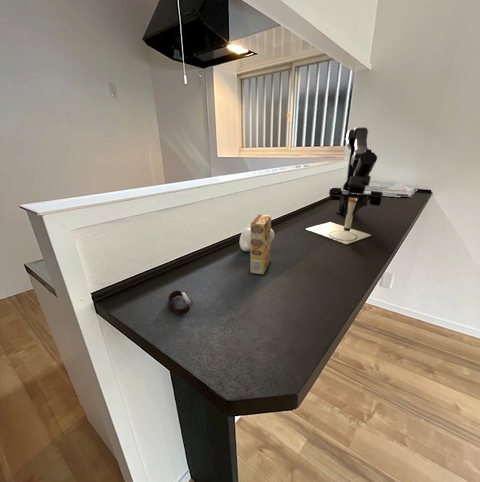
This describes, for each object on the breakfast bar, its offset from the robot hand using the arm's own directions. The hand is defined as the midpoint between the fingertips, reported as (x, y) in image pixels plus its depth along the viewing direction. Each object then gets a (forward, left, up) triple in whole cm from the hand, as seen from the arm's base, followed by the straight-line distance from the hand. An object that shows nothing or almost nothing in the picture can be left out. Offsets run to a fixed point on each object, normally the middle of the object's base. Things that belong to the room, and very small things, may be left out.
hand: (349, 214), depth 100 cm
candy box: (+1, -44, -9) cm, 45 cm away
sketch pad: (-5, +1, -9) cm, 10 cm away
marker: (-1, +1, -7) cm, 7 cm away
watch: (+6, -72, -9) cm, 73 cm away
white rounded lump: (-10, -38, -9) cm, 40 cm away
